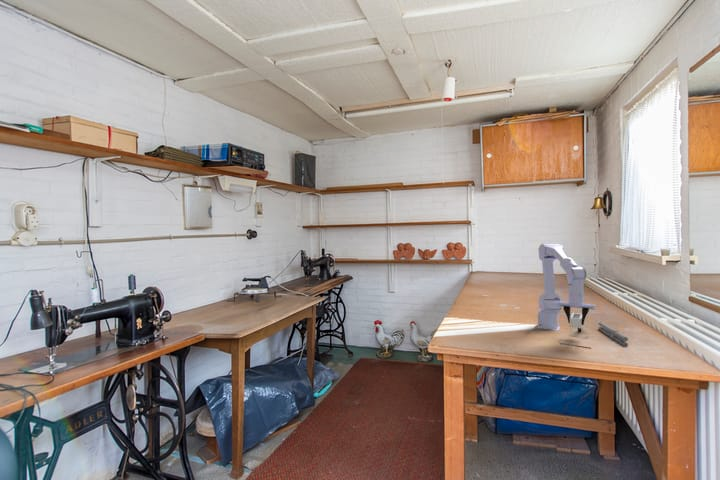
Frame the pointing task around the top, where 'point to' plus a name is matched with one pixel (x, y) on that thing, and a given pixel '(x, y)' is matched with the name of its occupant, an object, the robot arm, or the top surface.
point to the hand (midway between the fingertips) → (576, 323)
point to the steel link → (576, 320)
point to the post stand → (579, 333)
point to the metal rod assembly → (613, 334)
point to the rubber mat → (575, 345)
